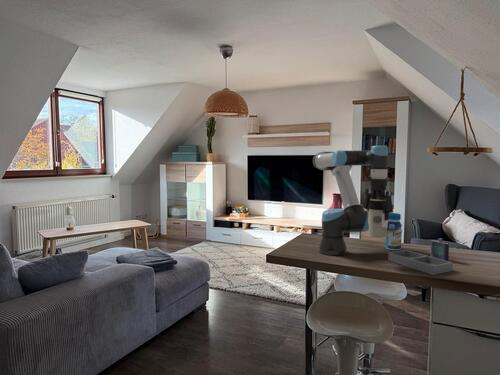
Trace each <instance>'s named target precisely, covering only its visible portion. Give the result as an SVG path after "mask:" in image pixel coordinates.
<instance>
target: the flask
mask: <svg viewBox="0 0 500 375" xmlns="http://www.w3.org/2000/svg"><path fill="white" fill-rule="evenodd" d="M449 255H450V243H449V242H447V241H444V240H443V238H437V240H434V239H433V240H431V241H430V256H431V257H434V258H438V259H442V260H445V261H449V260H450V256H449ZM449 262H450V261H449Z"/></svg>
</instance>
